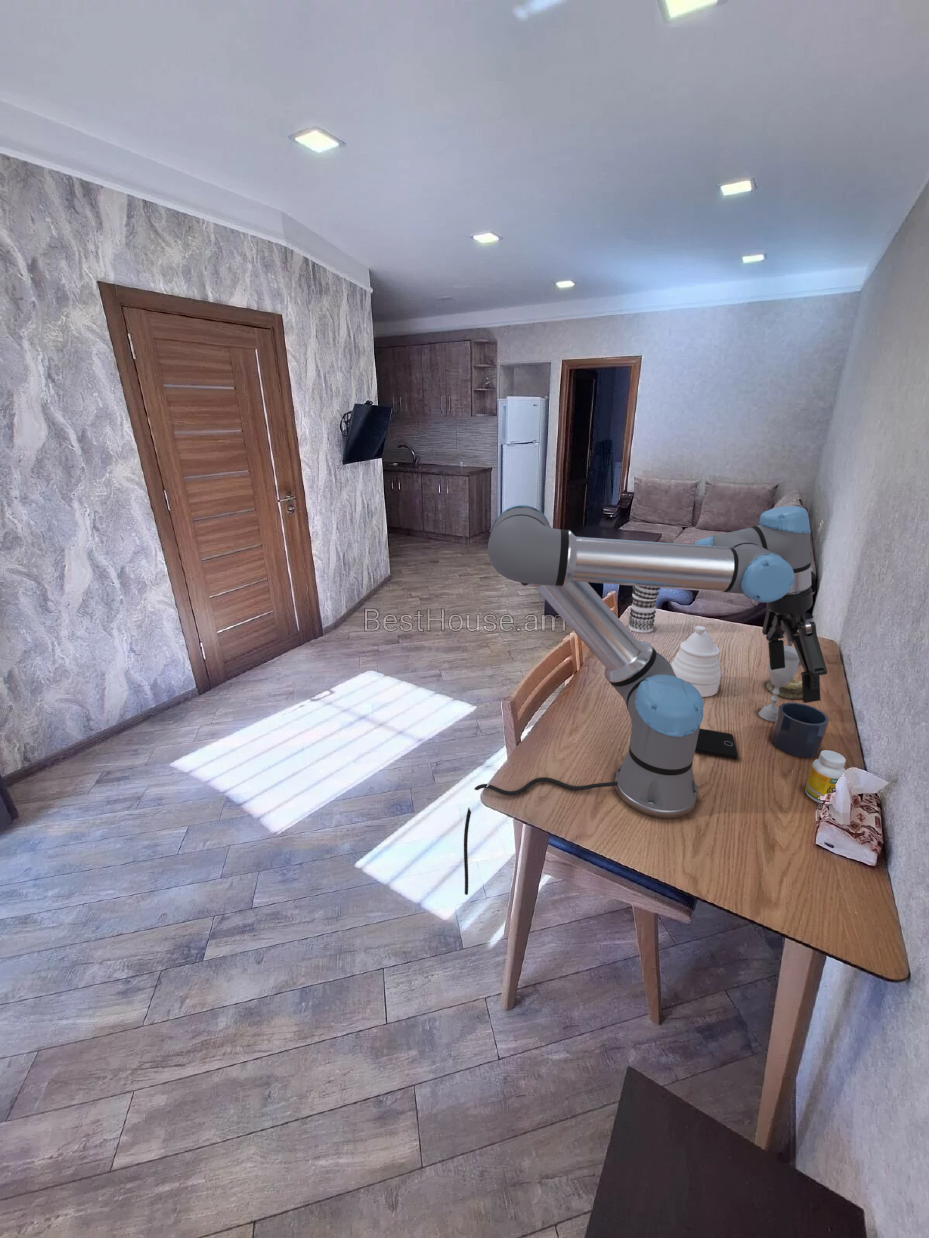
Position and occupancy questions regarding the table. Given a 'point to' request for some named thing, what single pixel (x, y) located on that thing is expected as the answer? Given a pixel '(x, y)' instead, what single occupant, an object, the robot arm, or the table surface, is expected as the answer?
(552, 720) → the table surface
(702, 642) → the honey pot
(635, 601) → the decorative candle
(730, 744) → the cell phone
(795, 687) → the cake
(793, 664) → the chalice
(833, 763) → the supplement bottle
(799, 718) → the cup
